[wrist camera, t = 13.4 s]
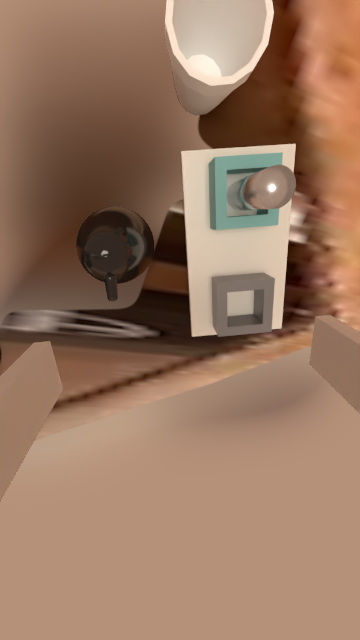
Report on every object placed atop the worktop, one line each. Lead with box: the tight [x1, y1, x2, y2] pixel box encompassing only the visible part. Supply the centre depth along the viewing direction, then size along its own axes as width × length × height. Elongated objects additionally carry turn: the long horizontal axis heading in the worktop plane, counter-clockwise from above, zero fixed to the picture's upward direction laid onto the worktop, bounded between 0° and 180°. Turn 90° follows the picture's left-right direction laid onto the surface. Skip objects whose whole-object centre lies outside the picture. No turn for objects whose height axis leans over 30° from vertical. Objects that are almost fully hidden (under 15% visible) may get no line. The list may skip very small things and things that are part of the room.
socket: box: [209, 152, 283, 230], centre depth 37 cm, size 9×9×4 cm
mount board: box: [181, 144, 296, 337], centre depth 40 cm, size 16×28×6 cm, turn 4°
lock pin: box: [227, 165, 296, 210], centre depth 33 cm, size 4×4×13 cm
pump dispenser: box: [76, 206, 154, 301], centre depth 34 cm, size 10×10×15 cm
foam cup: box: [165, 0, 274, 115], centre depth 29 cm, size 10×9×13 cm
